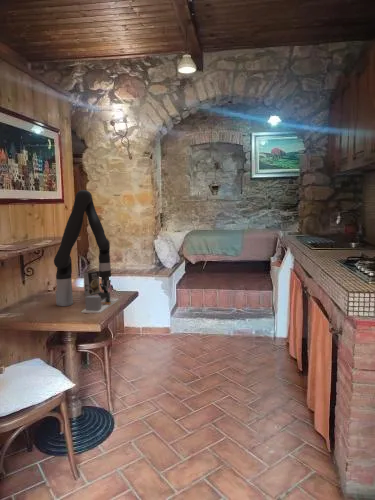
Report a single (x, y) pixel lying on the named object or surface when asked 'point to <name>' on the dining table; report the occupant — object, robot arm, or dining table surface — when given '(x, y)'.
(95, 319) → the dining table surface
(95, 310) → the gauge base
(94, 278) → the coffee box
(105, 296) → the tall dark grey box
